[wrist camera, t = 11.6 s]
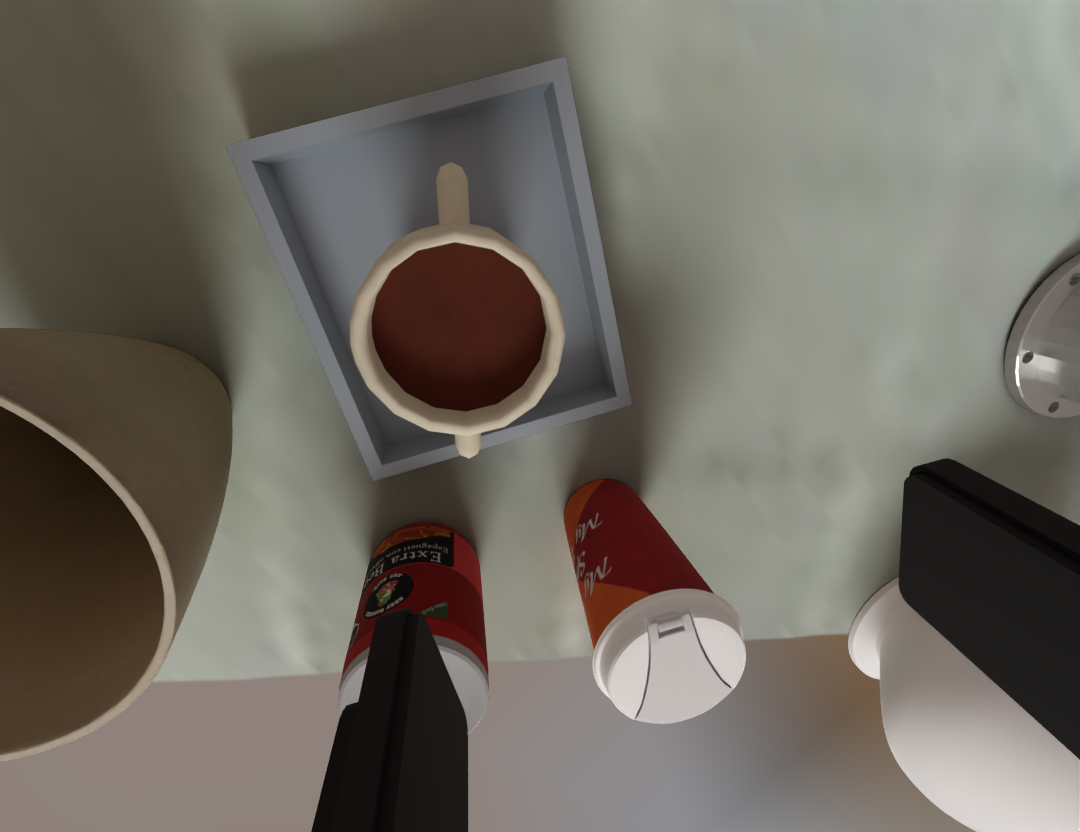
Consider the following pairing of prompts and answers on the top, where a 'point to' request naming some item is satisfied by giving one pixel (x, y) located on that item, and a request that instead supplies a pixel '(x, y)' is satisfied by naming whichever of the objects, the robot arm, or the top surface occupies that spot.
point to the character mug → (457, 324)
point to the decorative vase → (961, 727)
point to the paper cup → (648, 610)
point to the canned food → (426, 608)
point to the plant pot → (98, 522)
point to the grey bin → (411, 204)
